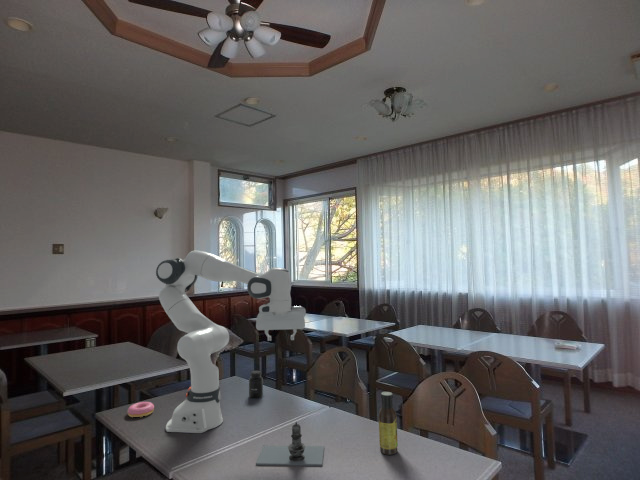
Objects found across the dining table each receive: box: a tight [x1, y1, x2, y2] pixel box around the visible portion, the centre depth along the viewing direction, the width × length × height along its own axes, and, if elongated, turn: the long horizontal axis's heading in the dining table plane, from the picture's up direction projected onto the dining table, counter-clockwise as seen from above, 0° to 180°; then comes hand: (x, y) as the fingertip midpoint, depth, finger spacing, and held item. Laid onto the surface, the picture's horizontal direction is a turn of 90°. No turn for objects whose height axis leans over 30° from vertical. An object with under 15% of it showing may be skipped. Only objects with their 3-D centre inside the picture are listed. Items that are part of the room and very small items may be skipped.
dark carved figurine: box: [287, 421, 306, 462], centre depth 133 cm, size 6×6×12 cm
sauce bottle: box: [378, 391, 399, 455], centre depth 137 cm, size 6×6×20 cm
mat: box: [255, 444, 325, 467], centre depth 135 cm, size 22×12×1 cm, turn 86°
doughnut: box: [127, 401, 155, 418], centre depth 174 cm, size 11×11×4 cm
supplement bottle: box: [248, 370, 264, 400], centre depth 192 cm, size 7×7×12 cm
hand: (281, 340), depth 161 cm, fingers open, 8 cm apart
